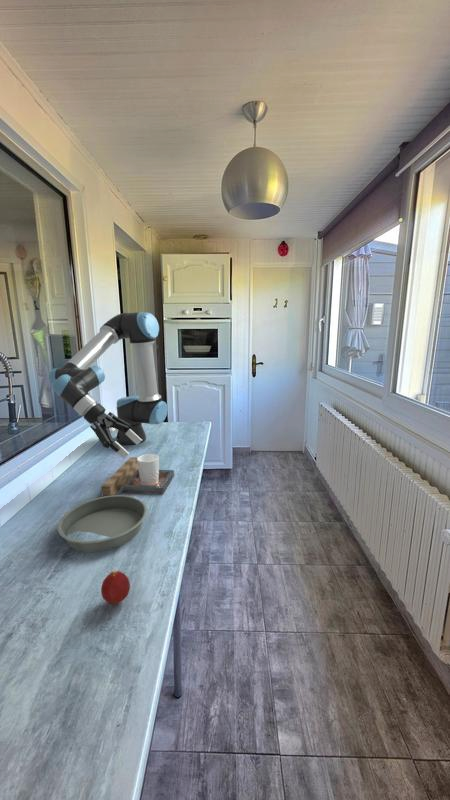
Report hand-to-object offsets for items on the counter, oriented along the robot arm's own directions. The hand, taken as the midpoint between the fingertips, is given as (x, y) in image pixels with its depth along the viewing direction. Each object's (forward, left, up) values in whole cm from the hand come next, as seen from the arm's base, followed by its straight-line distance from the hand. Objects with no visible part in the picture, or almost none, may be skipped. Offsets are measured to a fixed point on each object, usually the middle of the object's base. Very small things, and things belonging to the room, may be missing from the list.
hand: (133, 449), depth 124 cm
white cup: (0, +5, -14) cm, 14 cm away
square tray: (0, +5, -14) cm, 15 cm away
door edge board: (0, -6, -14) cm, 15 cm away
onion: (+55, +16, -14) cm, 59 cm away
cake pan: (+29, +1, -14) cm, 32 cm away
